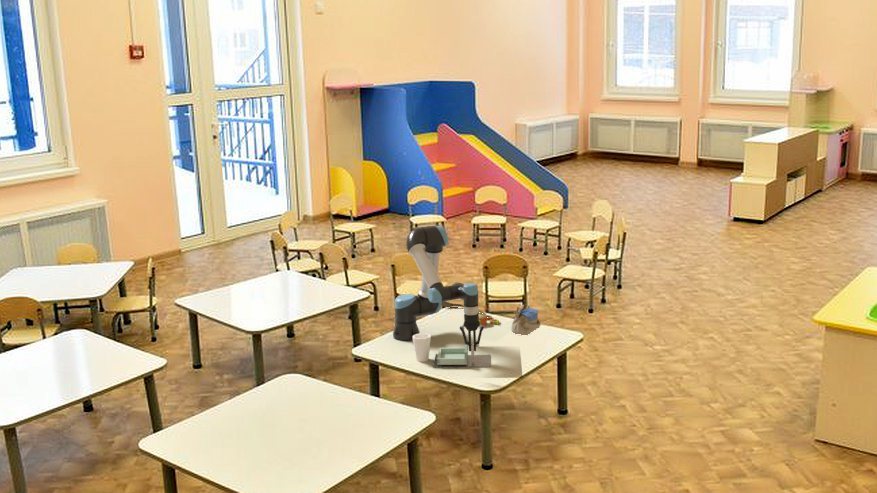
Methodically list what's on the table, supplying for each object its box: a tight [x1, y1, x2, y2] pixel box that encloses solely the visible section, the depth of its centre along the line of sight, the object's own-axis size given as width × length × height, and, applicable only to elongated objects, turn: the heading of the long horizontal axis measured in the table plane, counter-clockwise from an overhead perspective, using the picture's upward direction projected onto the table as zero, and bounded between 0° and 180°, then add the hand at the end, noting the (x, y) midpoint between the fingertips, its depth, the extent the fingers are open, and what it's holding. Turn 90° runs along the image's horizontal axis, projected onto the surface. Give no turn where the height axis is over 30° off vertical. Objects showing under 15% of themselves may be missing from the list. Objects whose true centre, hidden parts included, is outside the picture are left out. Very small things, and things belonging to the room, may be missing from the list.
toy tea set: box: [478, 309, 500, 326], centre depth 515 cm, size 26×16×10 cm, turn 25°
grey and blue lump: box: [510, 304, 542, 336], centre depth 498 cm, size 26×16×16 cm, turn 152°
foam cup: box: [412, 332, 432, 363], centre depth 454 cm, size 10×9×13 cm
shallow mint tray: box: [437, 343, 469, 366], centre depth 450 cm, size 17×15×7 cm
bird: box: [441, 301, 464, 308], centre depth 537 cm, size 18×8×10 cm, turn 71°
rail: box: [432, 353, 491, 369], centre depth 451 cm, size 18×29×1 cm, turn 86°
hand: (472, 356), depth 450 cm, fingers closed
